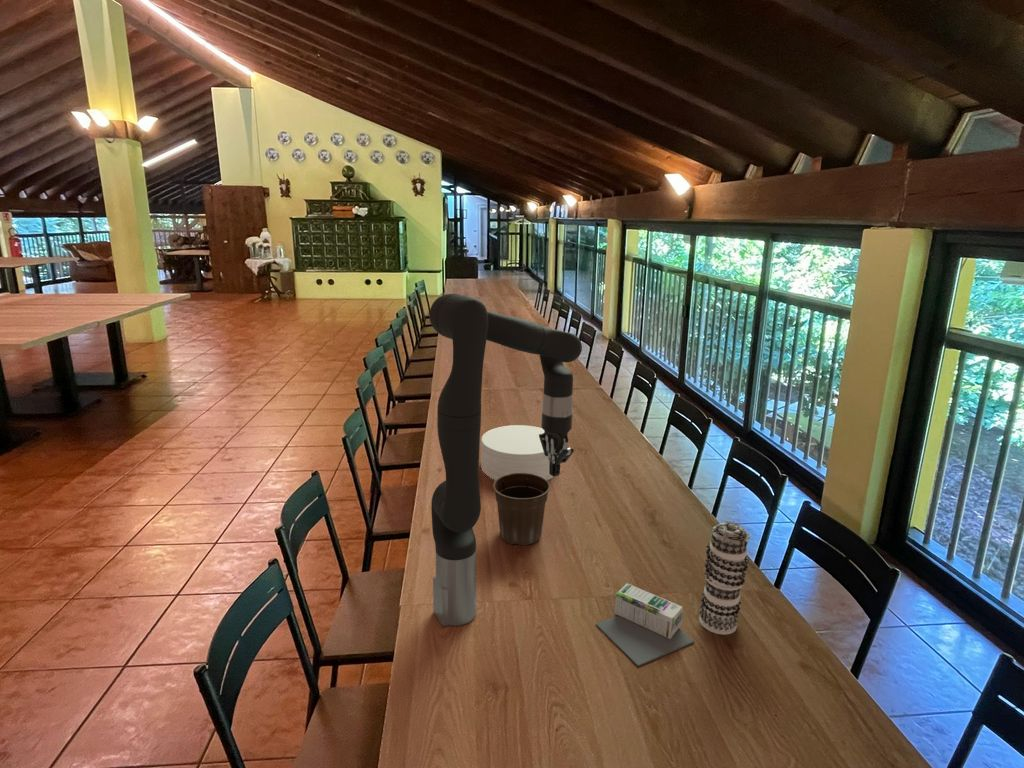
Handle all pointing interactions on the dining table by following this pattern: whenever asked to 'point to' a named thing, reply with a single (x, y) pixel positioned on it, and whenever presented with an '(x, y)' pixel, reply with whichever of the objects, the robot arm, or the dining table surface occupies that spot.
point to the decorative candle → (724, 578)
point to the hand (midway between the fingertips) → (554, 475)
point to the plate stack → (514, 452)
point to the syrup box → (648, 610)
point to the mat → (641, 640)
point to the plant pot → (521, 506)
